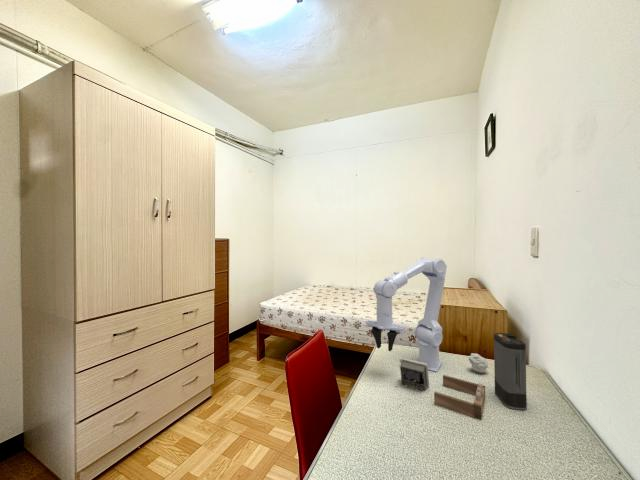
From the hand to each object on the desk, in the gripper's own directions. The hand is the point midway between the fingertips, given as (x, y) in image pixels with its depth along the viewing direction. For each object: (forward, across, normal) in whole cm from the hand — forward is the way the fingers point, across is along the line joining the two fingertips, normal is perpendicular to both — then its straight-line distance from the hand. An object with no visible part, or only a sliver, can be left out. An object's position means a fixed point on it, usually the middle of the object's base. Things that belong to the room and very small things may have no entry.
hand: (384, 348), depth 98 cm
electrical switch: (+11, +11, 0) cm, 15 cm away
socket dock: (+10, +25, 0) cm, 27 cm away
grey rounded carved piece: (+11, +28, +25) cm, 39 cm away
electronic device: (+11, +38, +9) cm, 40 cm away
